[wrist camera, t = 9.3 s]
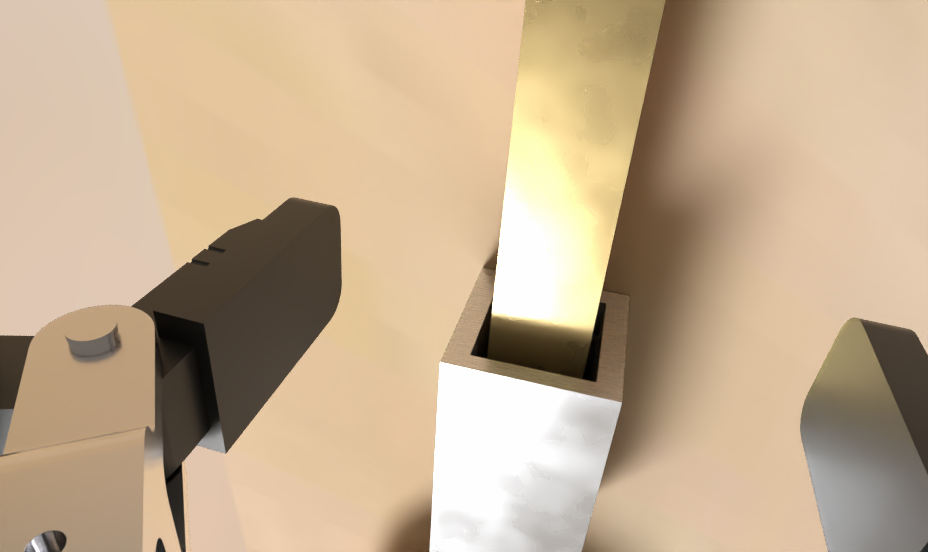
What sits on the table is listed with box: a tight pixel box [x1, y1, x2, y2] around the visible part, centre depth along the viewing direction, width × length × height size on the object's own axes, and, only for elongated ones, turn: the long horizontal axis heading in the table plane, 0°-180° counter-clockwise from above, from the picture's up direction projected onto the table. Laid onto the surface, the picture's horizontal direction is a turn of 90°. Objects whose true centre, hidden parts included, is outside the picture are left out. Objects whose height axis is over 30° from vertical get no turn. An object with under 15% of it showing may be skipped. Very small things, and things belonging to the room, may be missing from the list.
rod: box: [487, 0, 666, 379], centre depth 23 cm, size 4×24×4 cm, turn 176°
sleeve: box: [429, 268, 630, 552], centre depth 31 cm, size 7×15×7 cm, turn 176°
